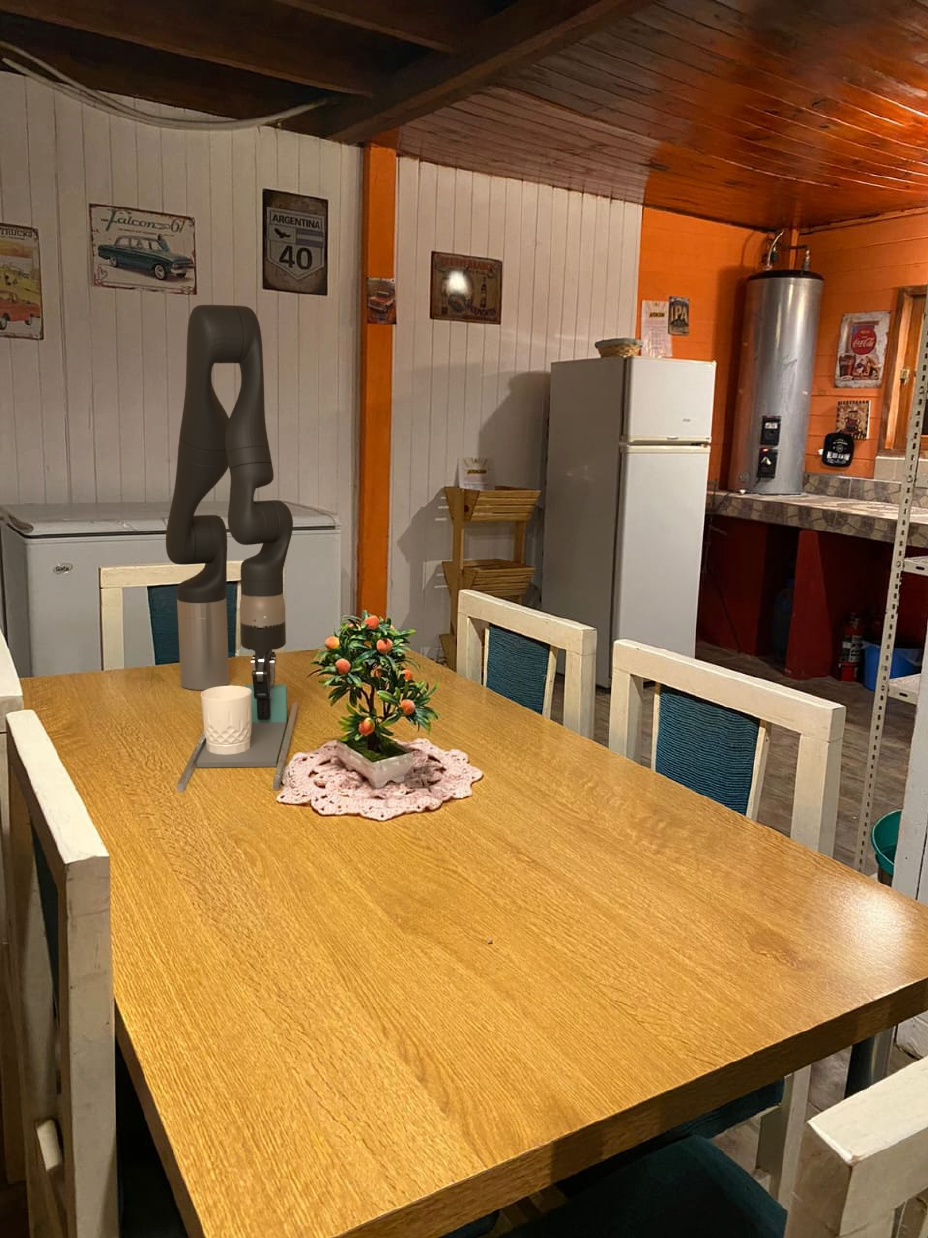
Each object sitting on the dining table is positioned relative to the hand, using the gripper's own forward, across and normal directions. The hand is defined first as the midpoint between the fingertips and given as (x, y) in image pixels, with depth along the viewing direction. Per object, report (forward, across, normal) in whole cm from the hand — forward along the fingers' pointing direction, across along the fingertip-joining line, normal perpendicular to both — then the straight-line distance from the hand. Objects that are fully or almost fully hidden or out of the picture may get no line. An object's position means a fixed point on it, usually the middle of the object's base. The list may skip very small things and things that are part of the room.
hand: (265, 715), depth 169 cm
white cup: (+2, +13, -4) cm, 14 cm away
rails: (+2, +10, -2) cm, 10 cm away
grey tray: (+2, +9, -2) cm, 9 cm away
